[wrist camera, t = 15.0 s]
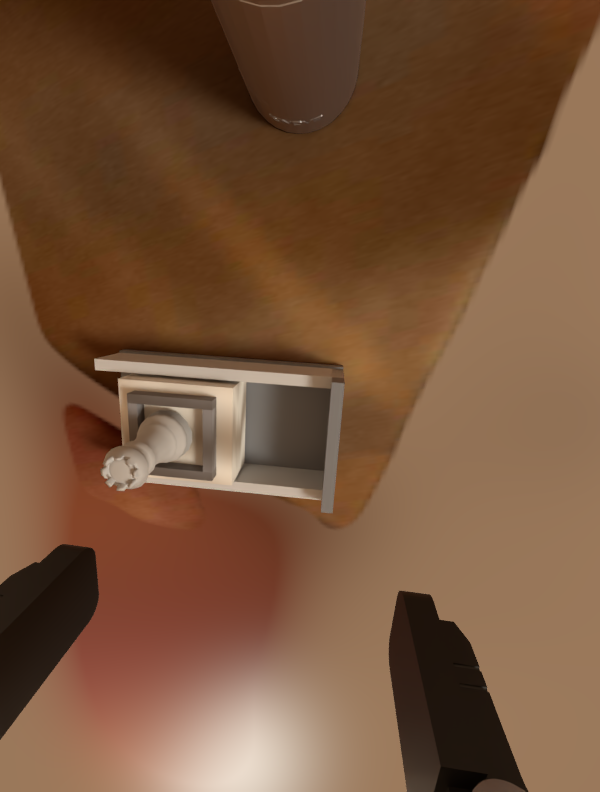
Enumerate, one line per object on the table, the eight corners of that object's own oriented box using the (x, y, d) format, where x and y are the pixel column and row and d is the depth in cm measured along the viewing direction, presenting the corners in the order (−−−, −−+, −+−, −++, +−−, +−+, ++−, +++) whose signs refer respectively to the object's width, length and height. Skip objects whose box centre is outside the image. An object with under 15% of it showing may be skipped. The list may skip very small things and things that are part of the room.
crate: (146, 368, 37) (109, 381, 31) (246, 376, 36) (228, 391, 30) (150, 453, 39) (116, 480, 33) (244, 462, 38) (227, 492, 32)
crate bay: (124, 349, 38) (79, 360, 31) (342, 365, 36) (344, 380, 29) (131, 458, 41) (91, 490, 34) (332, 478, 39) (332, 515, 32)
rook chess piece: (142, 449, 33) (84, 494, 26) (148, 402, 32) (89, 435, 24) (190, 461, 33) (146, 511, 25) (198, 415, 32) (154, 452, 24)
